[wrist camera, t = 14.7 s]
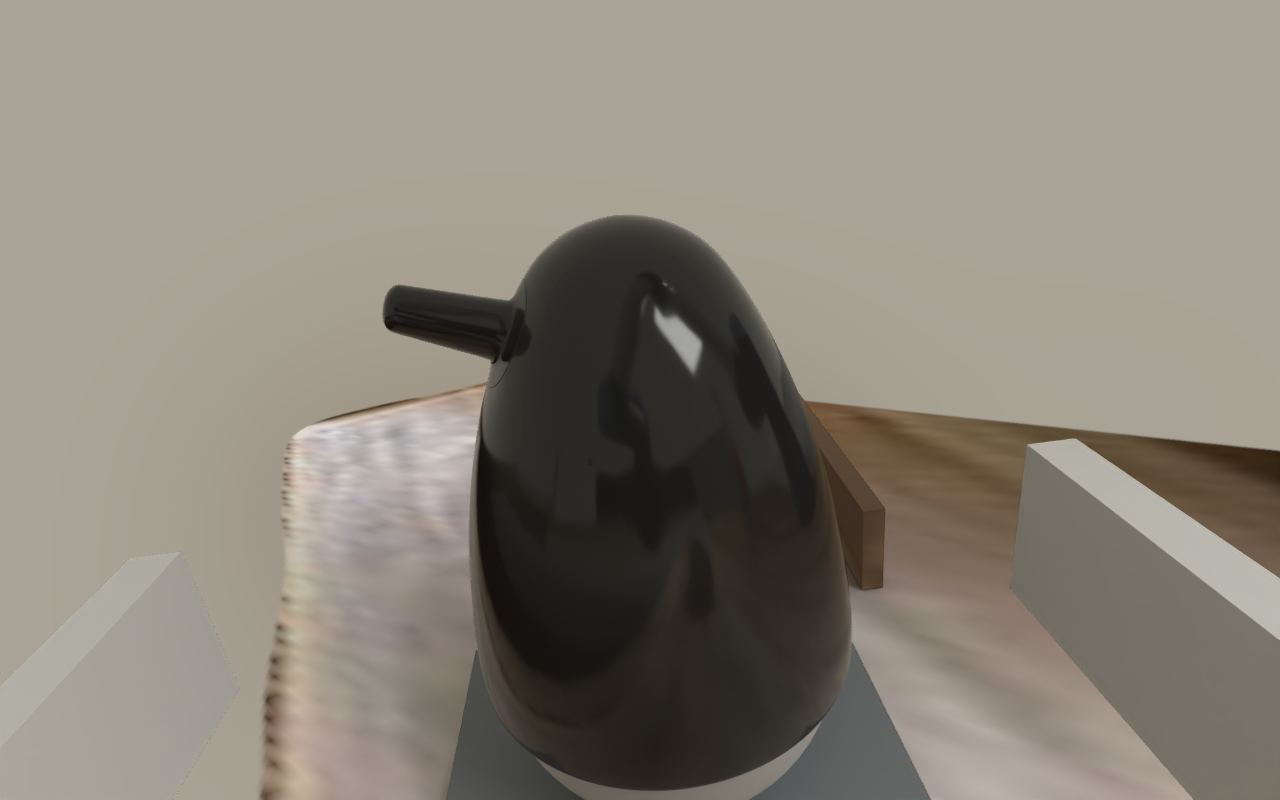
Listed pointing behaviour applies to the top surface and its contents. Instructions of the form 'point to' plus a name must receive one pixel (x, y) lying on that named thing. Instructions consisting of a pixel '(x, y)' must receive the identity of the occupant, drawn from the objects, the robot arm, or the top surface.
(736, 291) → the pump dispenser
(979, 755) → the top surface
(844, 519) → the walnut caddy
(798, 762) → the grey mat
